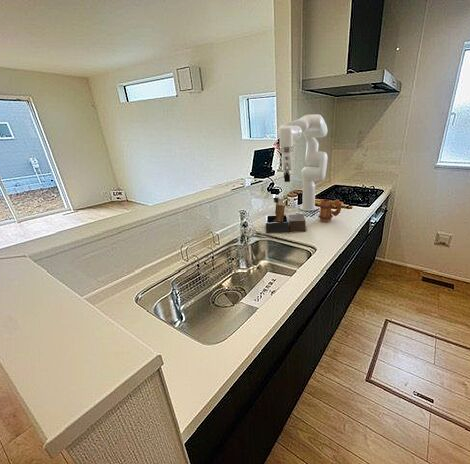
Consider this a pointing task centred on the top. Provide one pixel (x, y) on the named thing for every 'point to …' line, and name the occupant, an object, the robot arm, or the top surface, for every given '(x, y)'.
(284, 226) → the basket
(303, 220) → the stand
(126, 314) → the top surface
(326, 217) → the mug
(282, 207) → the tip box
